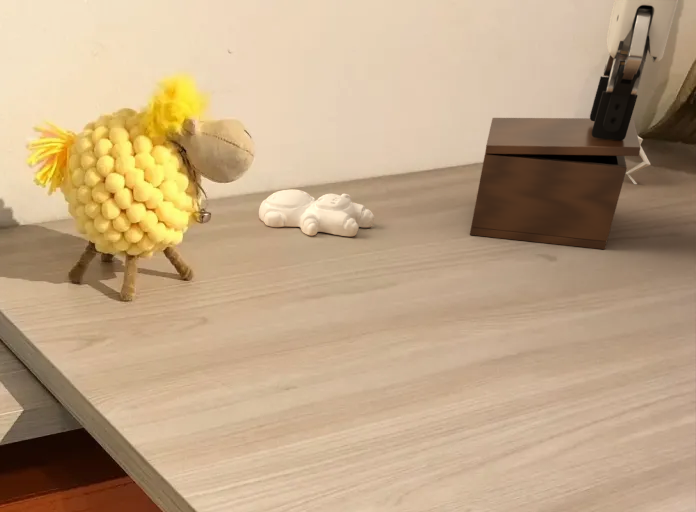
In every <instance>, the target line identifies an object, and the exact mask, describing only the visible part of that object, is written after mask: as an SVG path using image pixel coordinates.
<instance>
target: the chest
mask: <svg viewBox="0 0 696 512" xmlns="http://www.w3.org/2000/svg"><path fill="white" fill-rule="evenodd" d="M485 152H486V150H485ZM485 152H484V157H483V161H482V168H481V172H480V179H479V183H478V189H477V192H476V193H477V194H476V199H475V204H474V210H473V215H472V221H471V226H470V231H469V235H470V236H475V237H485V238H486V237H487V238H493V239H494V238H495V239H504V240H505V239H506V240H513V241H522V242H532V243H540V244H552V245H558V246H559V245H561V246H568V247H579V248H588V249H597V250H605V249H606V246H607V242H608V240H609V235H610V231H611V228H612V224H613V221H614V217H615V214H616V210H617V206H618V203H619V200H620V199H619V198H620V195H621V192H622V188H623V183H624V180H625V176H626V172H627V169H628V167H627V162H626V156H604V155H539V154H486V153H485Z"/></svg>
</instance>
